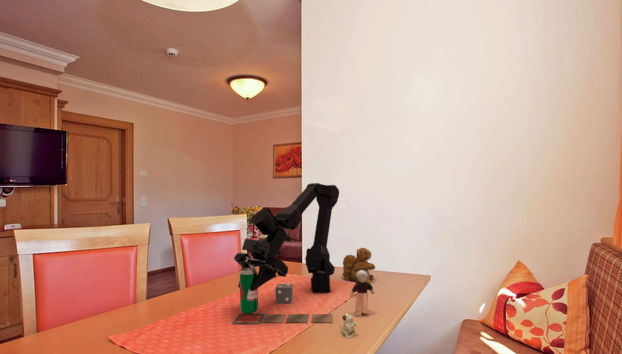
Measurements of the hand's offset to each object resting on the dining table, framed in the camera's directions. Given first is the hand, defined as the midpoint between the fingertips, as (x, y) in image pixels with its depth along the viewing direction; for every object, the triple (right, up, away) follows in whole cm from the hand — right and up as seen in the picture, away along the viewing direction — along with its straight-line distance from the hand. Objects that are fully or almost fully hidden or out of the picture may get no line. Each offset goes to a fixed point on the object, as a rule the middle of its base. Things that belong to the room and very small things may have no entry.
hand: (245, 289), depth 95 cm
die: (+10, -9, +16) cm, 21 cm away
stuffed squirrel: (+38, -10, +41) cm, 57 cm away
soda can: (+1, -7, +1) cm, 7 cm away
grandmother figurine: (+34, -8, +3) cm, 35 cm away
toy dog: (+28, -8, -11) cm, 31 cm away
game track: (+11, -9, 0) cm, 14 cm away
